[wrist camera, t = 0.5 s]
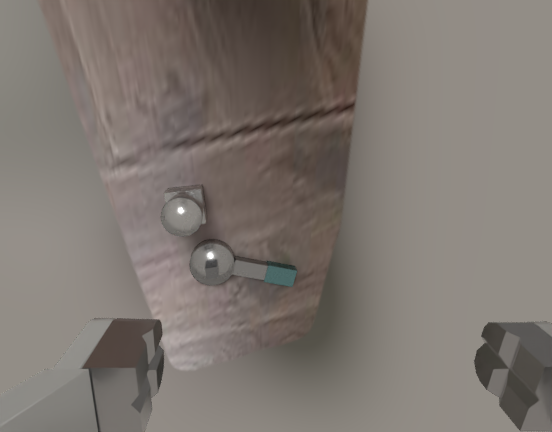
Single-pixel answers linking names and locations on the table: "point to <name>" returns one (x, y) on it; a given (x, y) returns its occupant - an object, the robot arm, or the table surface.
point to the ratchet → (234, 266)
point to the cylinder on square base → (184, 210)
